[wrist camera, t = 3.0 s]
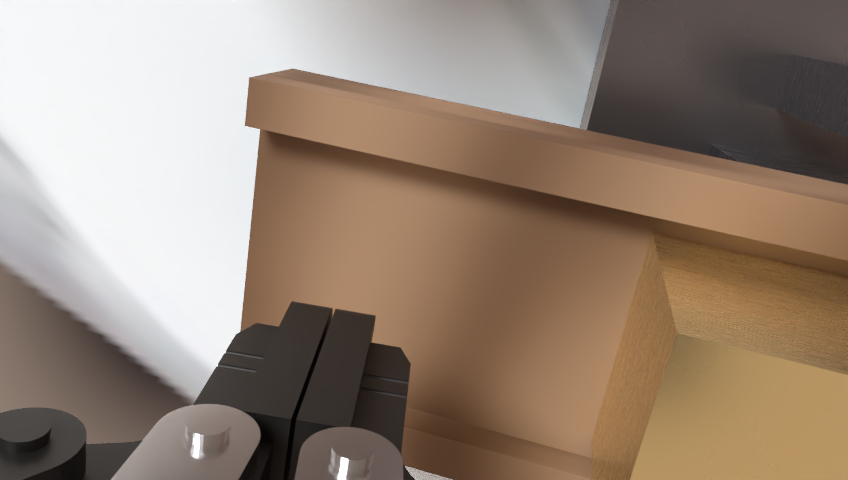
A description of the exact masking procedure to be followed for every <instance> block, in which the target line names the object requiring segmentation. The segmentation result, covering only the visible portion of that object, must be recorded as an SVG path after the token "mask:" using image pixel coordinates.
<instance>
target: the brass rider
mask: <svg viewBox="0 0 848 480" xmlns="http://www.w3.org/2000/svg"><path fill="white" fill-rule="evenodd" d="M591 480H848V276H845V275H841V274H837V273H832V272H828V271H823V270H819V269H815V268H810V267H806V266H801V265H797V264H793V263H788V262H784V261H779V260H775V259H771V258H766V257H762V256H757V255H753V254H748V253H744V252H740V251H735V250H731V249H726V248H722V247H718V246H713V245H709V244H704V243H700V242H696V241H691V240H687V239H682V238H678V237H674V236H669V235H665V234H660V233H656V232H652V234H651V237H650V241H649V244H648V248H647V251H646V255H645V258H644V261H643V265H642V268H641V272H640V275H639V278H638V282H637V285H636V289H635V292H634V296H633V299H632V302H631V306H630V309H629V313H628V316H627V319H626V323H625V326H624V330H623V333H622V337H621V340H620V343H619V347H618V350H617V354H616V357H615V360H614V364H613V367H612V371H611V374H610V378H609V381H608V384H607V388H606V391H605V395H604V398H603V401H602V405H601V408H600V412H599V415H598V418H597V422H596V425H595V429H594V432H593V436H592V455H591Z"/></svg>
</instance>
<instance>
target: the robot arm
mask: <svg viewBox="0 0 848 480" xmlns="http://www.w3.org/2000/svg"><path fill="white" fill-rule="evenodd" d="M332 316H333V317H332ZM375 319H376V315H370V314H365V313H359V312H353V311H347V310H341V309H335V311H334V314H333V308H329V307H323V306H317V305H312V304H306V303H300V302H294V301H292V302H291V303H290V305H289V307H288V309H287V311H286V313H285V315H284V317H283V319H282V321H281V323H280V325H279V327H278V326H272V325H266V324H260V323H255V324H254V325H252V326H250V327H248V328H247V329H245V330H243V331H241V332H240V333H238V334H236V336H235V337H234V339H233V340H232V342H231V344H230V345H229V347H228V349H227V351H226V353H225V354H224V355H223V357H222V359H221V360H220V362H219V364H218V367H216V368H215V370H214V372H213V373H212V375H211V377H210V378H209V380H208V381H207V383H206V385H205V386H204V388H203V390H202V391H201V393H200V395H199V396H198V398H197V400H196V401H195V403H194V404H193V405H191V406H186V407H182V408H180V409H177V410H174V411H172V412H170V413H168V414H167V415H165V416H164V417H163V418H161V419H160V420H159V421H158V422H157V424H156V425H155V426H154V427H153V429H152V430H151V431H150V432H149V433H148V435H147V436H146V437H145V438H144V440H141V441H135V442H126V443H107V444H86V429H85V427H84V425H83V423H82V422H81V421H80V420H79V419H78V418H76V417H75V416H73V415H71V414H69V413H67V412H64V411H61V410H56V409H50V408H23V409H16V410H11V411H7V412H3V413H0V480H415V479H414V478H413V477H412V476H411V475H410V474H409V472H408V471H407V470H406V468H405V466H404V464H403V460H402V455H401V451H402V441H403V432H404V422H405V413H406V404H407V394H408V385H409V376H410V366H411V364H410V362H409V360H408V359H407V357H406V356H405V354H404V352H403V351H402V349H401V347H395V346H389V345H384V344H378V343H372V338H373V332H374V326H375Z"/></svg>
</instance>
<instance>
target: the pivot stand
mask: <svg viewBox="0 0 848 480" xmlns="http://www.w3.org/2000/svg"><path fill="white" fill-rule="evenodd" d="M580 129H583V130H588V131H593V132H598V133H602V134H607V135H612V136H617V137H622V138H626V139H631V140H636V141H641V142H645V143H650V144H655V145H660V146H665V147H669V148H674V149H679V150H684V151H689V152H693V153H698V154H703V155H708V156H712V157H717V158H722V159H727V160H732V161H736V162H741V163H746V164H751V165H756V166H760V167H765V168H770V169H775V170H779V171H784V172H789V173H794V174H799V175H803V176H808V177H813V178H818V179H822V180H827V181H832V182H837V183H842V184H846V185H848V0H611V3H610V7H609V11H608V15H607V19H606V23H605V27H604V32H603V36H602V40H601V44H600V48H599V52H598V56H597V60H596V64H595V68H594V72H593V76H592V80H591V85H590V89H589V93H588V97H587V101H586V105H585V109H584V113H583V117H582V121H581V125H580Z"/></svg>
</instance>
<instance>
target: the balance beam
mask: <svg viewBox="0 0 848 480" xmlns="http://www.w3.org/2000/svg"><path fill="white" fill-rule="evenodd" d="M245 126H249V127H253V128H258V129H260V138H259V149H258V159H257V169H256V179H255V189H254V199H253V210H252V220H251V230H250V240H249V250H248V261H247V271H246V281H245V291H244V301H243V311H242V322H241V331H243V330H245V329H247V328H248V327H250V326H252V325H254V324H255V323H260V324H266V325H272V326H278V327H279V325H280V323H281V321H282V319H283V317H284V315H285V313H286V311H287V309H288V307H289V305H290V303H291V302H292V301H294V302H300V303H306V304H312V305H317V306H323V307H329V308H333V314H334V311H335V309H341V310H347V311H353V312H359V313H365V314H370V315H376V319H375V326H374V332H373V338H372V343H378V344H384V345H389V346H395V347H401V349H402V351H403V352H404V354H405V356H406V357H407V359H408V360H409V362H410V364H411V366H410V376H409V385H408V394H407V404H406V413H405V422H404V432H403V441H402V451H401V455H402V460H403V464H404V465H405V466H409V467H412V468H416V469H419V470H423V471H426V472H430V473H433V474H437V475H440V476H443V477H447V478H450V479H454V480H591V455H592V436H593V432H594V429H595V425H596V422H597V418H598V415H599V412H600V408H601V405H602V401H603V398H604V395H605V391H606V388H607V384H608V381H609V378H610V374H611V371H612V367H613V364H614V360H615V357H616V354H617V350H618V347H619V343H620V340H621V337H622V333H623V330H624V326H625V323H626V319H627V316H628V313H629V309H630V306H631V302H632V299H633V296H634V292H635V289H636V285H637V282H638V278H639V275H640V272H641V268H642V265H643V261H644V258H645V255H646V251H647V248H648V244H649V241H650V237H651V234H652V232H656V233H660V234H665V235H669V236H674V237H678V238H682V239H687V240H691V241H696V242H700V243H704V244H709V245H713V246H718V247H722V248H726V249H731V250H735V251H740V252H744V253H748V254H753V255H757V256H762V257H766V258H771V259H775V260H779V261H784V262H788V263H793V264H797V265H801V266H806V267H810V268H815V269H819V270H823V271H828V272H832V273H837V274H841V275H845V276H848V185H846V184H842V183H837V182H832V181H827V180H822V179H818V178H813V177H808V176H803V175H799V174H794V173H789V172H784V171H779V170H775V169H770V168H765V167H760V166H756V165H751V164H746V163H741V162H736V161H732V160H727V159H722V158H717V157H712V156H708V155H703V154H698V153H693V152H689V151H684V150H679V149H674V148H669V147H665V146H660V145H655V144H650V143H645V142H641V141H636V140H631V139H626V138H622V137H617V136H612V135H607V134H602V133H598V132H593V131H588V130H583V129H578V128H574V127H569V126H564V125H559V124H555V123H550V122H545V121H540V120H535V119H531V118H526V117H521V116H516V115H511V114H507V113H502V112H497V111H492V110H488V109H483V108H478V107H473V106H468V105H464V104H459V103H454V102H449V101H445V100H440V99H435V98H430V97H425V96H421V95H416V94H411V93H406V92H401V91H397V90H392V89H387V88H382V87H378V86H373V85H368V84H363V83H358V82H354V81H349V80H344V79H339V78H334V77H330V76H325V75H320V74H315V73H311V72H306V71H301V70H296V69H289V70H284V71H279V72H274V73H270V74H265V75H260V76H255V77H250V78H249V88H248V99H247V110H246V121H245ZM332 317H333V316H332Z"/></svg>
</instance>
